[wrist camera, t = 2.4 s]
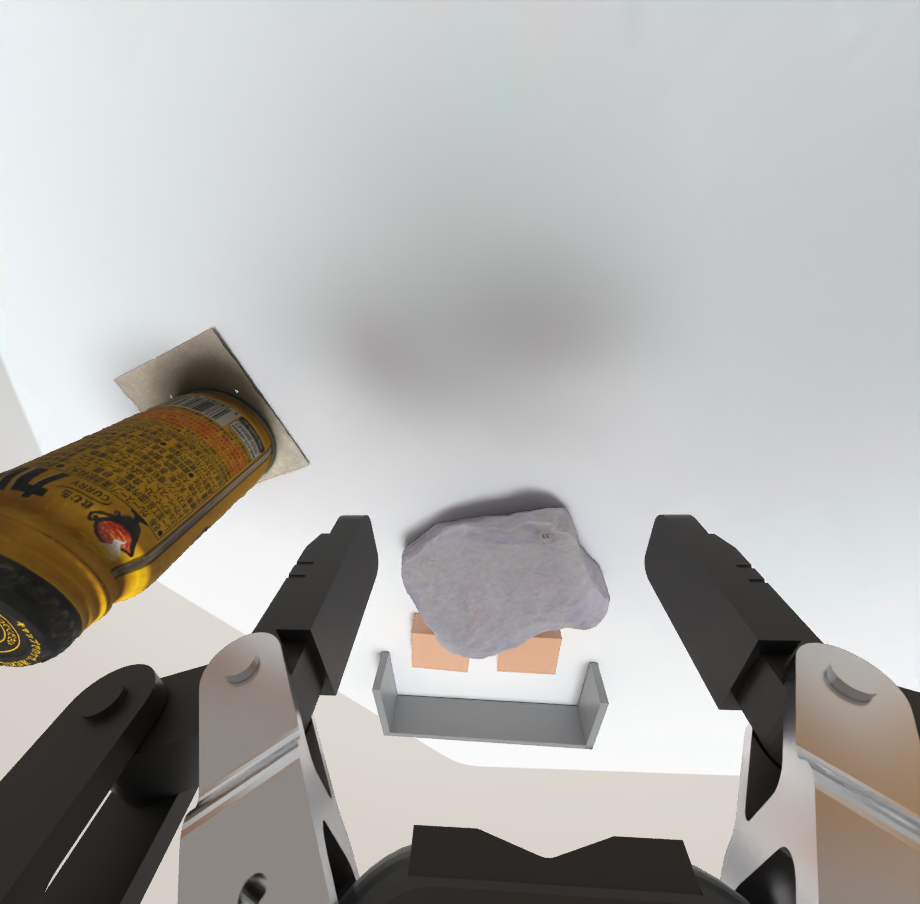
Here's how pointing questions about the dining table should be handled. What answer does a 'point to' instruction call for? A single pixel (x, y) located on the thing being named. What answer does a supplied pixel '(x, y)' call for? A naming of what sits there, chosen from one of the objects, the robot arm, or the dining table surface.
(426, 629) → the tile
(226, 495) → the condiment
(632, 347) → the dining table surface
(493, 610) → the stone block
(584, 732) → the frame
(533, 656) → the tile
